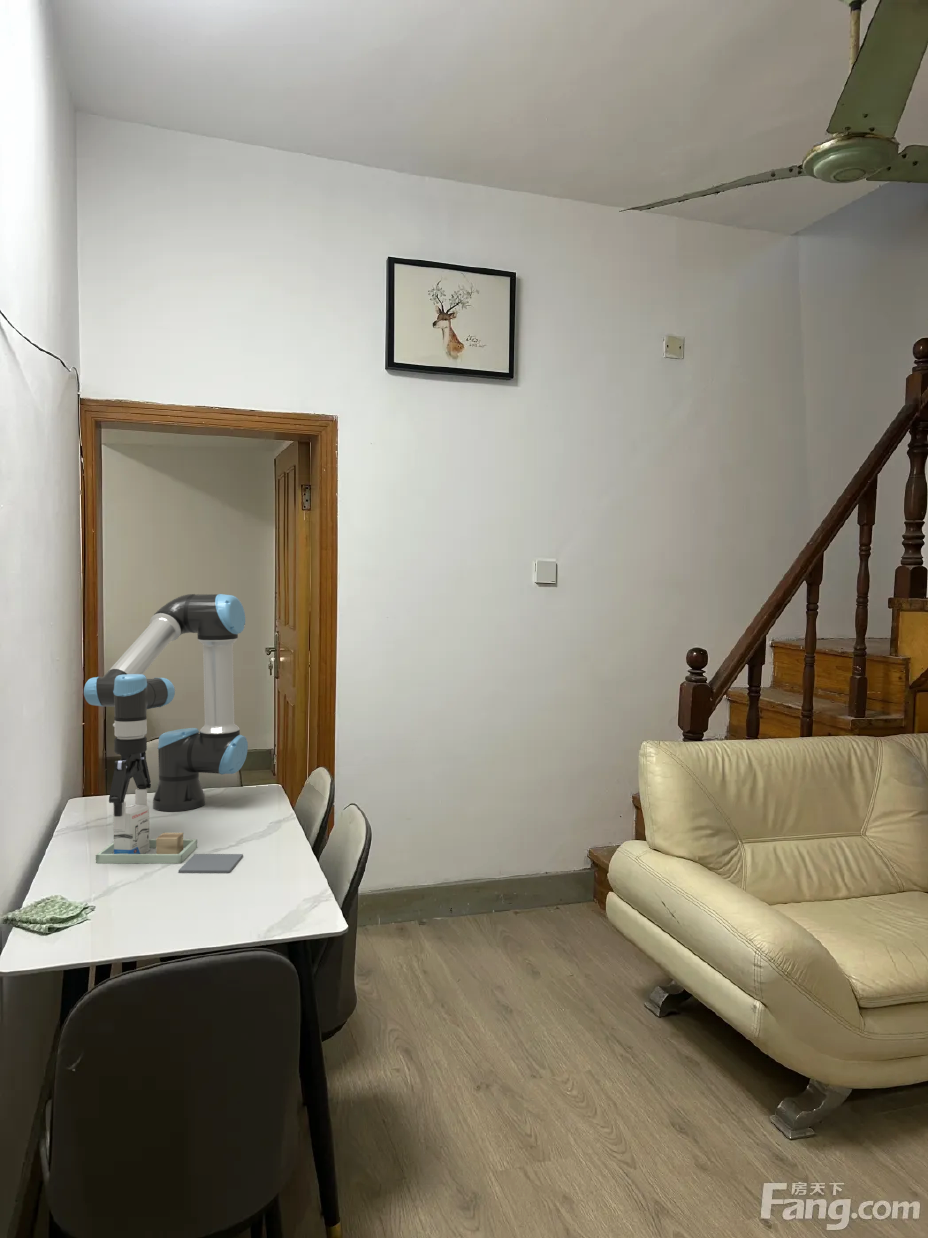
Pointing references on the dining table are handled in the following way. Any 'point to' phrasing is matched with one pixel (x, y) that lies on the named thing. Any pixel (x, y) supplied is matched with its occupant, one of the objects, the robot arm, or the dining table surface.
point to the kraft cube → (169, 843)
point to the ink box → (133, 831)
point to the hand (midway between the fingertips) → (130, 821)
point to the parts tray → (108, 857)
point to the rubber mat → (211, 863)
